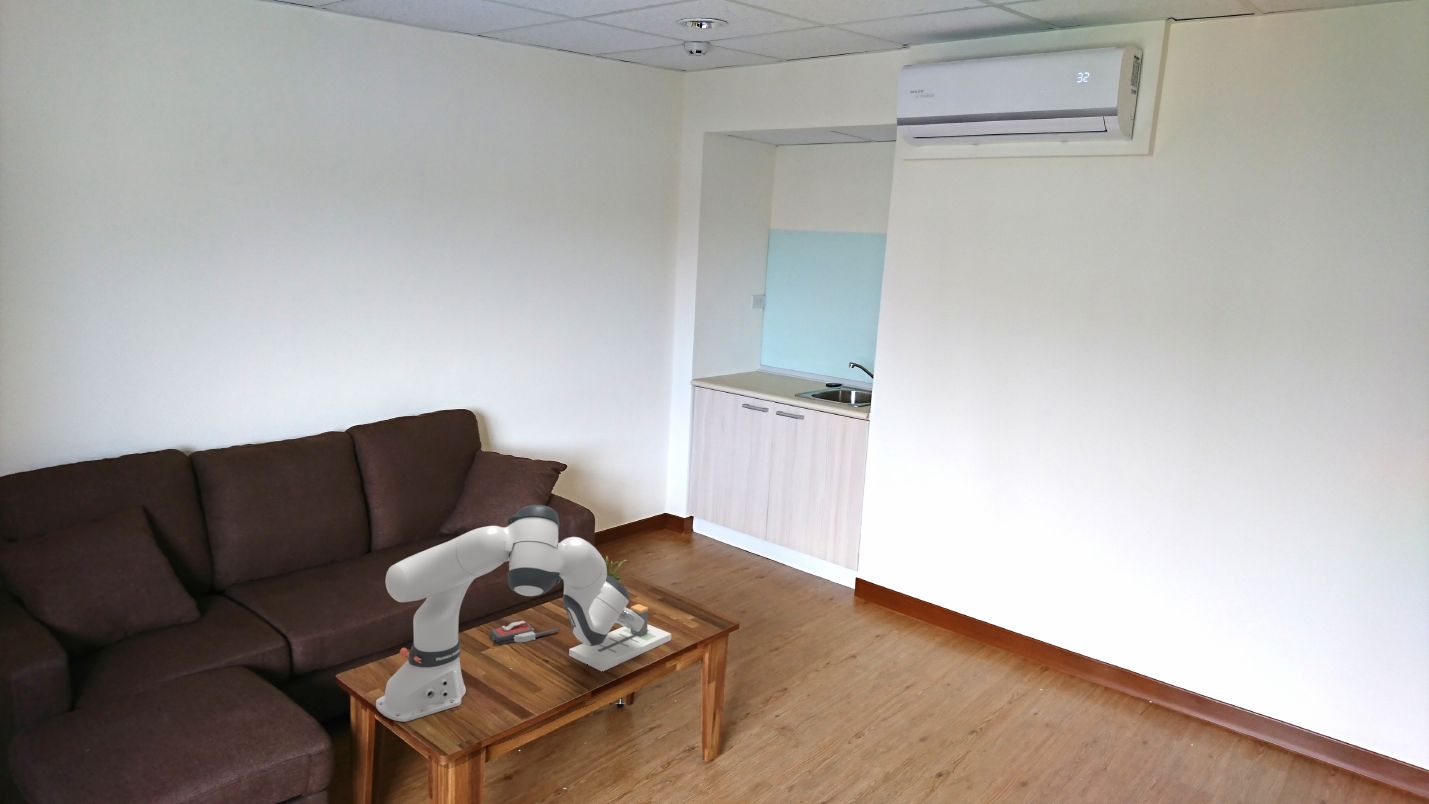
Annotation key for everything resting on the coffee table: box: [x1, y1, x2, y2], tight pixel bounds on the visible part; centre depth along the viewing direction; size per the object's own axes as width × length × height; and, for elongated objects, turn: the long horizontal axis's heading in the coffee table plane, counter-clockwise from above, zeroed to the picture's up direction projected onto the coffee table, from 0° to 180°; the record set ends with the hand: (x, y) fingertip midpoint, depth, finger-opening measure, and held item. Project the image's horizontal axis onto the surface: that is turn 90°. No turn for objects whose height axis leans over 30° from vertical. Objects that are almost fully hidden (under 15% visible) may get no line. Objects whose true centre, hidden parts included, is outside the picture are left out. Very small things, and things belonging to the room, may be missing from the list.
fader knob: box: [630, 603, 649, 636], centre depth 272 cm, size 3×4×8 cm
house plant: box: [604, 555, 629, 583], centre depth 297 cm, size 14×14×16 cm
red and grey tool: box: [489, 620, 559, 646], centre depth 273 cm, size 9×4×20 cm
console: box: [568, 623, 672, 672], centre depth 267 cm, size 28×14×2 cm, turn 140°
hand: (626, 624), depth 269 cm, fingers closed
